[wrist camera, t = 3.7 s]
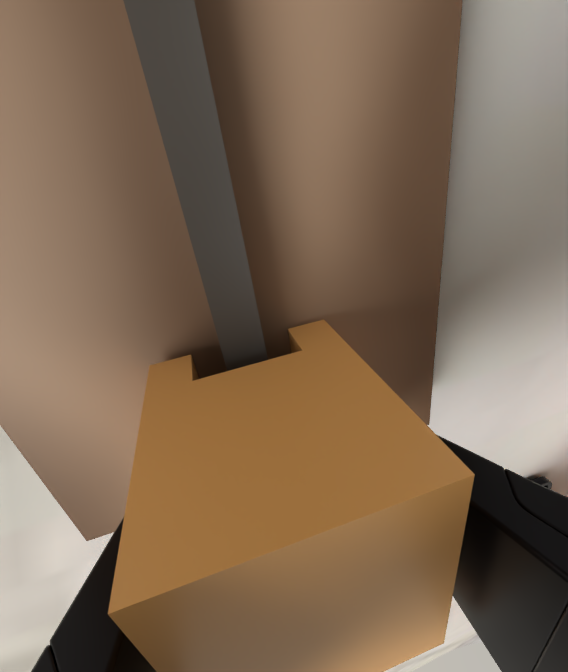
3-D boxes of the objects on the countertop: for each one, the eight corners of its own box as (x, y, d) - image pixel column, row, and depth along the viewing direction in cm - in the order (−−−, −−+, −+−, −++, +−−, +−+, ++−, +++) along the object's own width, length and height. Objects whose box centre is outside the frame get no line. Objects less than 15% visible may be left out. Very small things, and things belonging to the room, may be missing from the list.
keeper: (323, 319, 9) (474, 474, 4) (337, 452, 11) (443, 642, 7) (149, 365, 8) (108, 614, 3) (204, 497, 10) (220, 748, 6)
